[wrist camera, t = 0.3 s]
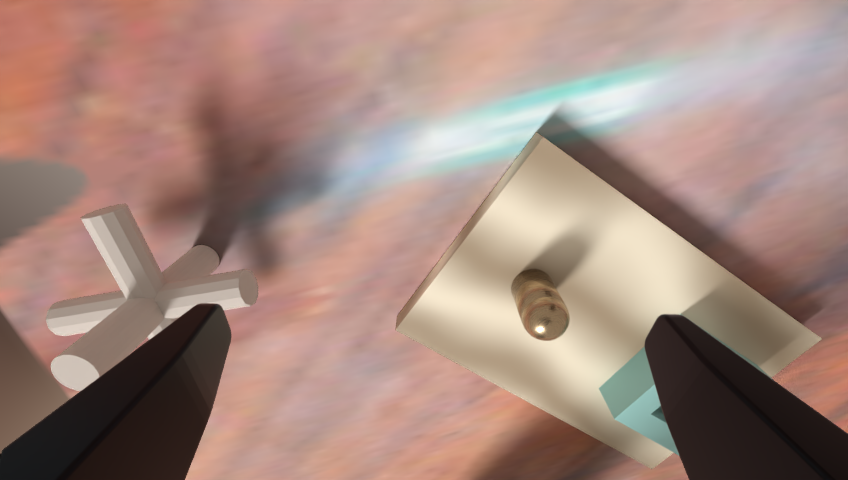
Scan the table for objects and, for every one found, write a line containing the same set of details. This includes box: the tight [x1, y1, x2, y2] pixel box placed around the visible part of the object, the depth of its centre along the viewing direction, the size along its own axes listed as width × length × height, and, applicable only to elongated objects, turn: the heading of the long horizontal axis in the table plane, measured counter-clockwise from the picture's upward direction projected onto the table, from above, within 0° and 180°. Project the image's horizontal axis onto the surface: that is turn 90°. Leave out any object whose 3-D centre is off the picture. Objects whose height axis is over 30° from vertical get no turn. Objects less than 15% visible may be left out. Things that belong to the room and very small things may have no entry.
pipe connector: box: [46, 204, 258, 391], centre depth 21 cm, size 10×10×10 cm
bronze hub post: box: [511, 269, 570, 341], centre depth 22 cm, size 2×2×4 cm
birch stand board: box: [395, 132, 821, 469], centre depth 24 cm, size 14×22×6 cm, turn 57°
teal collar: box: [599, 314, 773, 455], centre depth 25 cm, size 7×7×2 cm
